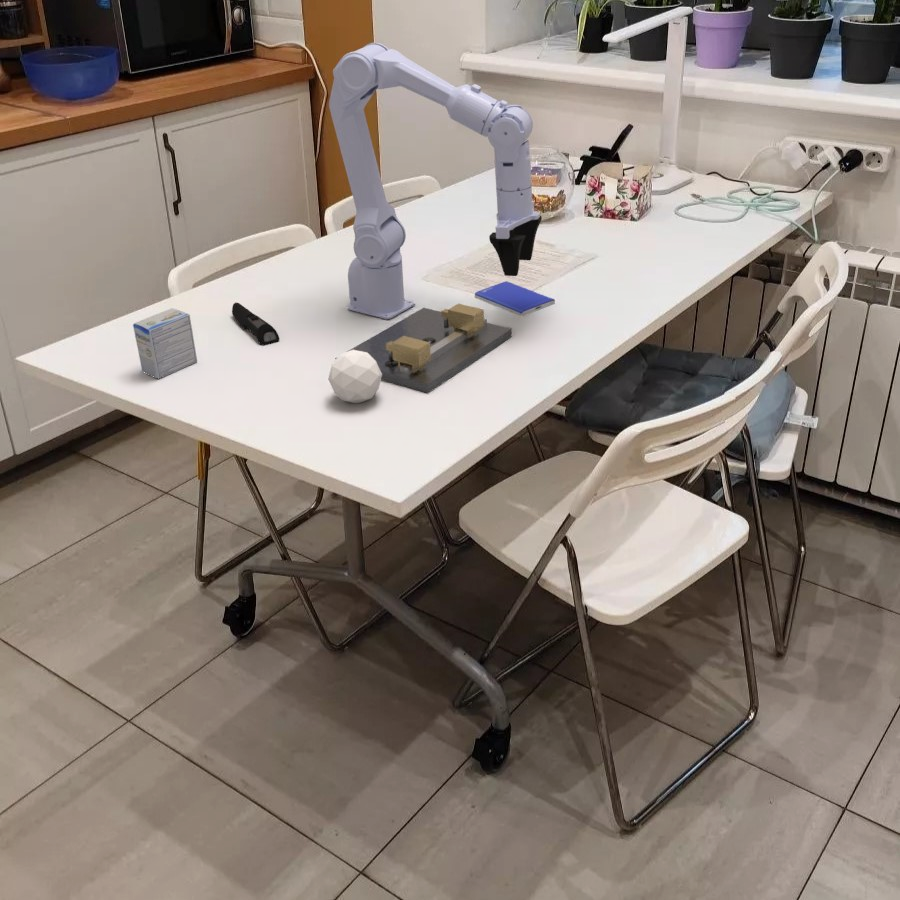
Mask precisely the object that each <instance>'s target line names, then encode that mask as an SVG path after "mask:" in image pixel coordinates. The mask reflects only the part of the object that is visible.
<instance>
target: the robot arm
mask: <svg viewBox="0 0 900 900" xmlns="http://www.w3.org/2000/svg"><path fill="white" fill-rule="evenodd" d="M332 74H333V83H332V88H331V92H330V97H329V102H328V108H329V111H330V115H331V120H332V123H333V126H334V131H335V133H336V139H337V142H338V145H339V150H340V153H341V157H342V161H343V164H344V169H345V172H346V175H347V179H348V184H349V187H350V190H351V195H352V199H353V203H354V206H355V210H356V213H355V216H354V222H353V226H352V228H353V232H354V242H353V253H354V255H355V258H354V259H352V261H351V262H350V264H349V267H348V270H347V271H348V272H347V280H348V293H349V304H350V305H348V306H347V310H349V311H352V312H357V313H361V314H364V315H369V316H373V317H377V318H381V319H385V320H390V319H392V318H394V317H397V315H399V314H401V313H403V312H405V311H406V310H409V309H411V308H412V307H414V306H415V305H416V304H415V302H414V301H409V300H406V299H405V290H404V289H405V287H404V274H403V273H404V272H403V255H402V254H401V247H402V246H404V243H405V241H406V239H407V238H406V237H407V236H406V235H407V234H406V229H405V226H404V225H403V224H402V222H401V221H400V220H399V218H398V217H397V214H396V209H395V208H394V206H392V205H391V204H390V203H389V202H388V201H387V197H386V193H385V189H384V186H383V185H384V184H383V182H382V178H381V177H382V176H381V173H380V169H379V165H378V161H377V158H376V154H375V150H374V146H373V141H372V138H371V134H370V129H369V126H368V122H367V118H366V112H365V107H366V105H367V104H368V102H369V101H370V99H371V98H372V96H373V95H374V93H375V92H376V90H384V89H390V88H397V87H402V88H404V89H407V90H408V91H411V92H412V93H415V94H417V95H419V96H421V97H424V98H425V99H428V100H429V101H431V102H435V103H436V104H439V105H441V106H442V107H445V109H446V111H447V113H448V115H449V116H448V117H449V118H450V119H451V120H453V121H454V122H457V123H459V124H460V125H462V126H463V127H465V128H468V129H469V130H472V131H473V132H475V133H478V134H480V135H481V136H483V137H484V138H487V139H488V142H489V143H490V145H491V146H492V147H493V149H494V150H493V151H494V173H495V175H494V177H495V189H496V190H495V191H496V194H495V195H496V205H497V208H496V209H497V210H496V211H497V212H496V226H495V231H493V232H492V233H490V234H489V242H490V244H491V245H492V247H493V248H494V250H495V252H496V254H497V256H498V259H499V262H500V266H501V268H502V269H501V270H502V272H503V275H504V276H506V277H517V276H518V274H519V271H520V261H531V260H532V257H533V252H534V246H535V239H536V235H537V231H538V229H539V226H540V224H541V222H542V218H543V217H542V215H541V213H540V211H535V201H534V200H533V187H532V165H531V164H532V163H531V155H530V140H527V139H528V138H529V137H530V135H531V133H532V132H533V128H534V127H533V126H534V125H533V119H532V116H531V114H530V113H529V112H528V111H527V110H526V109H524V108H523V106H522V105H519V104H510V105H508V104H509V103H508V101H506V100H504V99H502V100H500V101H499V100H498V99H495V98H494V97H493V96H490V95H488V94H487V93H484V92H483V91H482V87H481V86H480V85H479V84H476V83H474V84H472V85H469V84H466V83H465V84H462V85H460V86H457V87H456V86H454V85H452V84H451V83H449V82H448V81H446V80H445V79H443V78H441V77H439V76H437V75H436V74H434V73H433V72H431V71H430V70H427V69H425V68H424V67H423V66H421V65H419V64H417V62H414V61H412V60H411V59H409V58H407V57H406V56H404V54H402V53H401V52H400V51H398V50H396V49H393V48H388V47H387V46H385V44H382V43H380V42H370V43H368V44H366V45H364V46H363V47H362V48H359V49H357V50H355V51H351V52H348V53H346V54H344V55H343V56H342V58H340V59H339V61H338V63H337V64H336V66H335V67H334V68H333V70H332Z"/></svg>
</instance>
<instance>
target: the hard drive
mask: <svg viewBox="0 0 900 900" xmlns="http://www.w3.org/2000/svg"><path fill="white" fill-rule="evenodd" d="M474 298H475V299H478V300H480V301H482V300H483V301H482V302H486V303H487V302H488V304H490V305H493V306H495V307H497V308H500V309H502V310H505V311H508V312H510V313H512V314H516V315H517V316H520V317H524V316H527V315H529V314H531V313H534V312H537V311H540V310H542V309H544V308H548V307H550V306H553V305H555V304H556V303H555V302H556V300H555V298H552V297H549V296H546V295H544V294H541V293H538V292H536V291H533V290H531V289H528V288H526V287H523V286H520V285H518V284H515V283H512V282H510V281H508V280H506V281H503V282H499V283H496V284H495V285H492V286H489V287H485V288H483V289H481V290H477V291H476V292H475V293H474Z"/></svg>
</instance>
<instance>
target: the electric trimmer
mask: <svg viewBox="0 0 900 900" xmlns="http://www.w3.org/2000/svg"><path fill="white" fill-rule="evenodd" d="M231 314H232V316H233V318H234V319H235V320H236V322H237V323H238V324H239V326H240V327H241V328H242V329H243V330H244V329H245V330H249V332H251V333H252V334H253V335H254V336H255V337H256V339H257V341H258V343H259V345H260V346H262V345H263V346H269V345H272V344H276V343H279V342H280V336H279V333H278V332H277V330H276V329H275V327H273V326H272V325H271V324H270V323H269V322H266V320H264V319H263V318H261V317H260V316H258V315H256V314H255V313H253V312H252V311H250V310H249V309H248V308H247V307H245V306H243V305H242V304H241V303H239V302H234V303H233V305H232V309H231Z"/></svg>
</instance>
